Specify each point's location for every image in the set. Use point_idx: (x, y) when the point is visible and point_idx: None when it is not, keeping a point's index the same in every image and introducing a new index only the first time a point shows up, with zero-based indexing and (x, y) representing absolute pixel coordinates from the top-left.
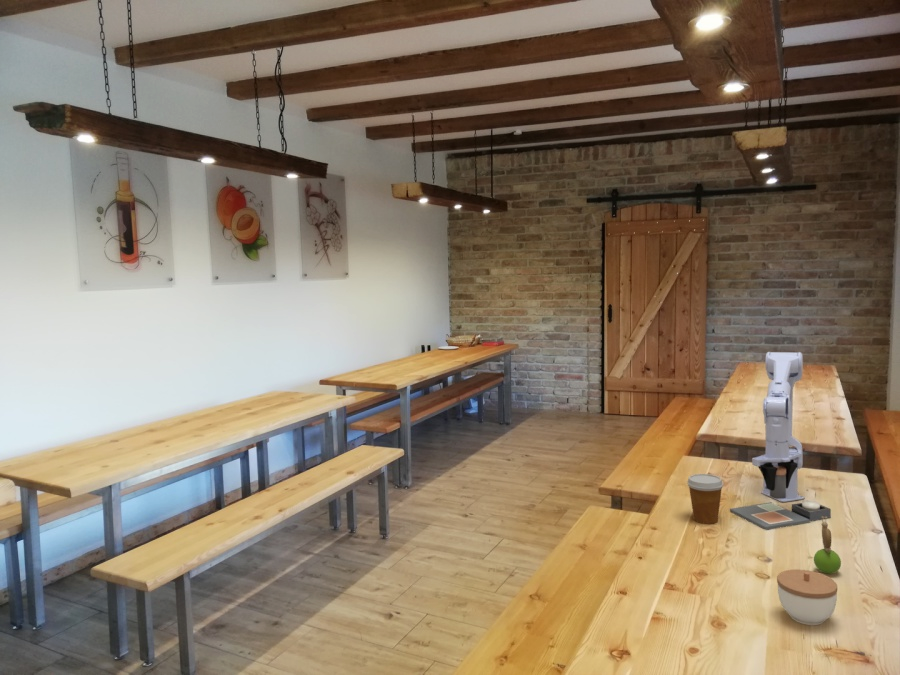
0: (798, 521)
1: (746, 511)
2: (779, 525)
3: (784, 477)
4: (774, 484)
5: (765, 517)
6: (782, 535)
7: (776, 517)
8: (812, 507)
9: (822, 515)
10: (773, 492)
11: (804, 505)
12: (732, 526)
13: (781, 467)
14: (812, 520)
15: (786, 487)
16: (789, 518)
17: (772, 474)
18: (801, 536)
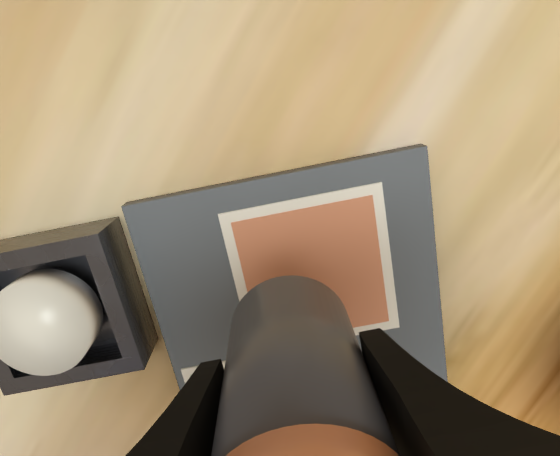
0: (199, 192)
1: None
2: (331, 164)
3: (260, 409)
4: (378, 355)
5: (349, 275)
6: (378, 47)
7: (292, 263)
8: (53, 282)
9: (23, 239)
10: (352, 328)
11: (89, 316)
12: (556, 226)
13: None
14: (100, 221)
15: (218, 362)
16: (227, 240)
17: (488, 427)
18: (280, 9)
